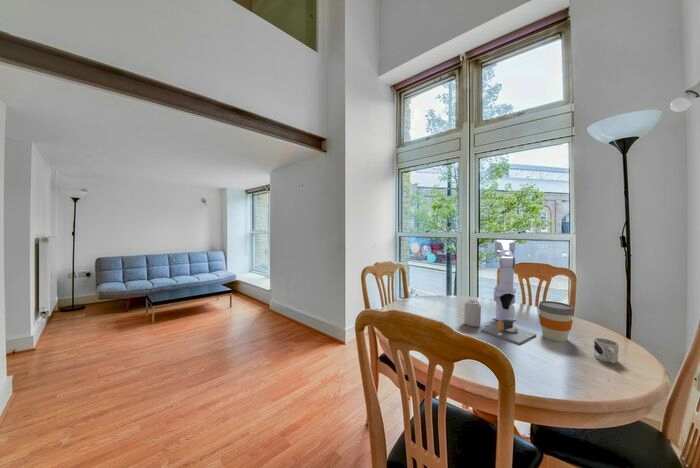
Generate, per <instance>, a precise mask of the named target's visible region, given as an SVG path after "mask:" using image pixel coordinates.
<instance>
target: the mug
mask: <svg viewBox="0 0 700 468" xmlns="http://www.w3.org/2000/svg"><path fill="white" fill-rule="evenodd" d="M593 342H594V343H593V357H594V358H595V359H597V360H600V361H602V360H603V361H602V362H605V361H607V362H606V363H609V362H611V363H610V364H616V363H615V362H617V363H619V343H618V342H617V341H614V340H611V339H607V338H603V337H595V338H594V341H593Z"/></svg>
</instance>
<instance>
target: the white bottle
mask: <svg viewBox="0 0 700 468" xmlns="http://www.w3.org/2000/svg"><path fill="white" fill-rule="evenodd" d="M481 308H482V305H481V304H480V302H479V301H477V300H466V302H465V303H464V317H463V318H464V324H465V325H466V326H468V327H471V328H477V327H479V326H481V320H482V319H481V317H482V315H481V314H482V311H481V310H482V309H481Z"/></svg>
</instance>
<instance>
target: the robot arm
mask: <svg viewBox="0 0 700 468" xmlns="http://www.w3.org/2000/svg"><path fill="white" fill-rule="evenodd" d="M515 250H516V241H515V240H514V239H513V240H508V239H507V240H505V239H495V240H494V255H495V257H498V266H499V284H497V285H496V286H494V289H493V301H494V302H495V306H496V307H495V316H493V317H492V319H493V320H496V321H502V320H507V318H511V319H512V320H513V322H515V321H517V318H515V312H516V311H515V310H516V309H515V306H514V305H515V303H516V292H517V288H514V277H515V276H514V274H515V268H516V258H515V256H514V255H515Z"/></svg>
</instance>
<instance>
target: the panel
mask: <svg viewBox="0 0 700 468" xmlns="http://www.w3.org/2000/svg"><path fill="white" fill-rule="evenodd" d="M480 332H482V333H485V334H487V335H490V336H493V337H495V338H499V339H501V340H504V341H508V342H510V343H514V344H516V345H518V346H521V345H522V344H524V343H526V342H528V341H530V340H532V339H534V338H536V337H537V333H533V332H530V331H527V330H524V329H521V328H518V332H517V333H508V332H505V331H501V330H498V329H497V322H496V323H494V324H490V325H489V326H486V327H483V328H481V329H480Z"/></svg>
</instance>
